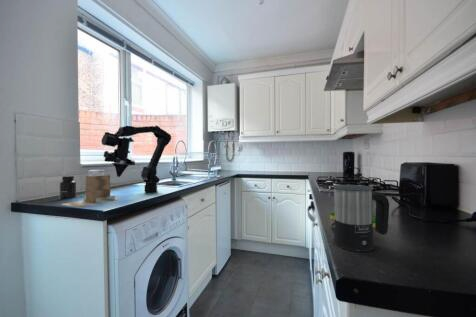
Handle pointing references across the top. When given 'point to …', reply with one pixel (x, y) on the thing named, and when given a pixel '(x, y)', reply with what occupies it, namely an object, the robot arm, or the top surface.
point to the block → (97, 187)
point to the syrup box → (96, 172)
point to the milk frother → (358, 216)
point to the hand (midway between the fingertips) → (118, 176)
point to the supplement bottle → (67, 187)
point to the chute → (84, 203)
